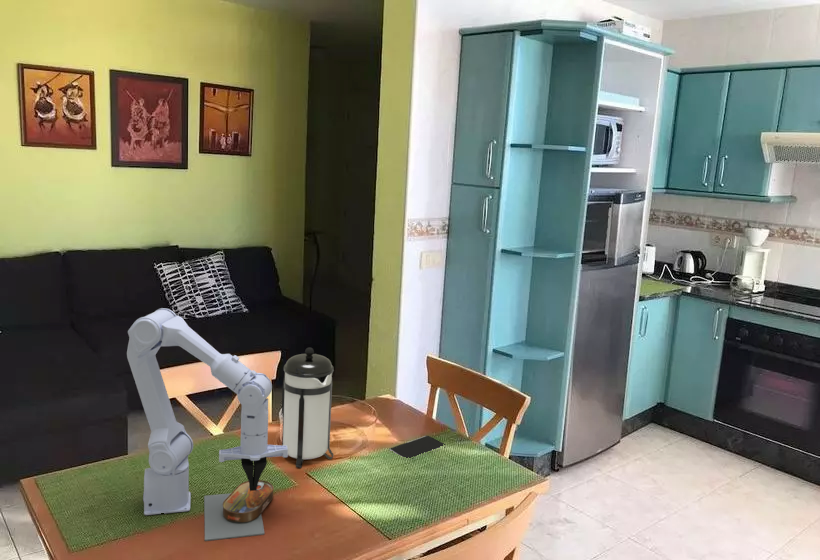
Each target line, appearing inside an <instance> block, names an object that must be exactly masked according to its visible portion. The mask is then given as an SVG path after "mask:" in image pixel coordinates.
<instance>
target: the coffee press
mask: <svg viewBox="0 0 820 560" xmlns="http://www.w3.org/2000/svg"><path fill="white" fill-rule="evenodd" d="M334 368H335V367H334V366H333V365H332V362H331V360H330V359H329V358H327V357H326V356H324V355H321V354H317V353H315V351H314V348H312V347H307V348H306V349H305V351H304V353H301V354H296V355H293V356H291V357H290V358H288V360H287V361H286V363H285V364H284V365H283V371H284V376H283V379H282V390H281V391H282V392H281V395H282V396H281V397H282V398H281V414H282V440H281V441H282V442H281V446H284V445H287V448H288V457H291V458H293V459H296V463H295V468H299V469H302V467H303V463H304V460H312V459H317V458H320V457H322V456H324V457H325V458H326V459H327V460H329V461H331V460H332V459H333V458H334V453H333V451H332V449H331V448H330V447H331V446H330V445H331V443H330V441H331V421H332V420H331V418H332V416H331V415H332V396H333V392H332V391H333V377H332V376H333V373H334V371H335V370H334ZM327 451H328V453H329V454H330V455H328V453H327Z"/></svg>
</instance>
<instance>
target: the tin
mask: <svg viewBox="0 0 820 560" xmlns="http://www.w3.org/2000/svg"><path fill="white" fill-rule="evenodd" d="M274 488H275V487H274V485H273V484H272V483H270V481H266V480H261V479H259V481H258V485H257V490H255V491H250V487H249V481H248V480H247V481H244V482H241V483H240V484H239V485H237V486H236V488H235V489H233V491H232V492H231V494H230V495H229V496H228V497H227V498H226V499H225V500H224V502H223V515H224V517H225V518H226V519H227V520H230V521H234V522H249V521H252V520H254V519H256V518H257V517H258V516H259V515H260V514H261V515H262V513H263V512H264V510H265V509H266V508H267V506H268V505H269V504H270V503H271V502H272V500H273V497H274Z"/></svg>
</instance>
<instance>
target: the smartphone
mask: <svg viewBox="0 0 820 560" xmlns="http://www.w3.org/2000/svg"><path fill="white" fill-rule="evenodd" d="M443 444H444V445H445V446H446V443H444V442H442V441H440V440H438V439H435V438H434V437H432V436H430V435H424V436H422V437H418V438H415V439H413V440H410V441H407V442H405V443H402V444H398V445H396V446H393V447H390V448H389V449H388V451H389V450H390V451H393V452H394V453H396V454H398V455H400V456H402V457H406V458H408V457H409V458H411V457H413V456H414V457H415V456H417V455H419V454H420V455H421V453H422V454H423V453H424V452H425V453H426V452H428V451H432V449H433V450H434V449H437V448H440V446H443ZM390 451H389V452H390ZM394 453H393V454H394Z"/></svg>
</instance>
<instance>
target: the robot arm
mask: <svg viewBox="0 0 820 560" xmlns="http://www.w3.org/2000/svg"><path fill="white" fill-rule="evenodd" d="M127 334H128V337H129V338H128V339H129V340H128V344H127V351H126V358H127V361H128V364H129V367H130V371H131V373H132V376H133V379H134V381H135V382H134V383H135V385H136V389H137V392H138V395H139V398H140V401H141V404H142V407H143V411H144V413H145V416H146V420H147V422H148V425H149V429H150V434H149V439H148V443H147V448H148V453H149V455H148V464H149V466H150V467H148V468H147V467H146V468H145V469H144V477H143V495H142V496H143V497H142V501H143V510H144V511H143V515H144V516H152V515H153V516H154V515H162V514H161V513H164V514H172V513H182V512H183V513H184V512H189V511H191V496H192V493H191V492H190V491H189V487H190V485H189V481H190V479H189V478H190V476H189V475H190V474H189V473H190V472H189V471H190V469H189V467H190V464H189V463H190V462H189V456H190V455H191V453H192V451H193V449H194V441H193V439H192V437H191V436H190V435H189V434H188V432H187V431H186V429H185V426H184V425H183V424H182V423H180V422H178V421H177V420H176V417H175V413H174V410H173V406H172V404H171V401H170V398H169V394H168V391H167V388H166V385H165V382H164V378H163V376H162V373H161V372H162V371H161V369H160V365H159V362H158V360H157V357H156V356H157V355H156V354H157V353H158V351H159V350H160V348H161V347H180V348H182V349H183V350H185V351H186V352H187V353H189V354H190V355H192V356H194V357H195V359H196V358H197V359H198V360H199V361H201V362H203V363H204V364H206V365H207V366H208V367H209V368H210V373H211V375H212V377H214V378H215V379H217V380H218V381H219V382H220V383H221V384H223V385H224V386H226V387H227V388H229V389H230V390H231V391H232V392H234V394H236V397H237V400H238V402H239V403H240V405H241V411H240V413H241V414H240V445H238V446H235V447H231V448H226V449H219V451H218V462H219V463H224V462H225V461H235V460H240V462H241V467H242V469H243V471H244V472H245V475H246V478H247V481H249V487H250V491H255V490H257V485H258V481H259V480H261V479H260V478H261V475H262V474H263V472H264V470H265V469H266V466H267V465H268V461H267V458H273V457H274V458H276V457H282V458H288V457H289V455H288V448H287V445H284V446H283V445H280V444H279V445H278V444H268V437H269V435H268V434H269V433H268V432H269V398H268V397H269V396H270V395H271V392H272V390H273V384H272V381H271V379H270V378H269V377H268V376H267V374H265V373H262V372H257V371H256V370H254V369H253V370H252V369H250V368H249V367H248V366H246V365H245V364H244V363H243V362H241V361H240V357H238V355H235V354H234V355H232V354H231V353H220V352H219V351H218V350H217V349H215V348H214V347H213V345H212V344H210V343H209V342H207V341H206V340H205V339H204V338H203V337H202V336H200V335H199V334H198V332H196V331H195V330H193V329H192V328H191V327H190V326H189V325H188V323H187V322H186V321H185V320H184V318H183V317H181V316H180V315H177V314H176V313H175V312H174V311H173V310H171V309H170V308H163V307H161V308H158V309H156V310H155V311H154V312H151V313H149V314H146V315H145V316H141V317H139V318H137V319H136V320H135V321H134V322H133V324H132V325H131V326H130V328H128V330H127Z"/></svg>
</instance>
